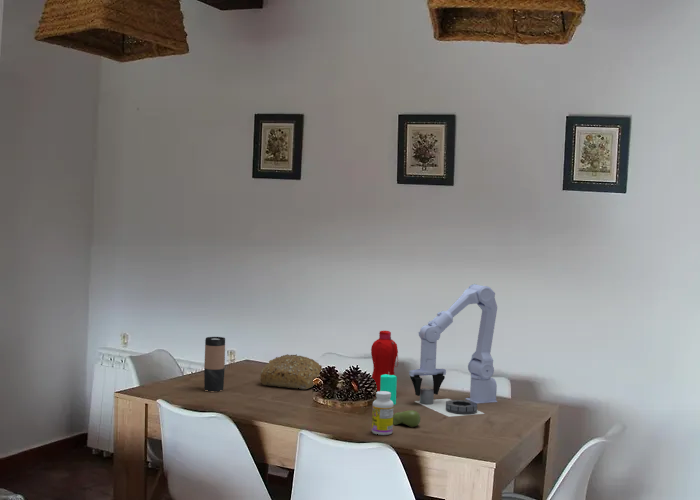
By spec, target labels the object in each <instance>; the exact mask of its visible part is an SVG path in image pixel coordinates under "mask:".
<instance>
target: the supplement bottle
mask: <svg viewBox="0 0 700 500" xmlns="http://www.w3.org/2000/svg"><path fill="white" fill-rule="evenodd" d="M375 397H376V399H375V400H374V401H373V402H372V411H371V413H372V415H371V419H372V420H371V433H372V434H374V435H377V434H378V436H389V435H391V434H392V433H393V429H394V425H393V415H394V407H395V406H394V404H393V402H392V401H391V400H390V398H391V393H390V392H387V391H378V392H376V396H375Z"/></svg>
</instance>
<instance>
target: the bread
mask: <svg viewBox="0 0 700 500" xmlns="http://www.w3.org/2000/svg"><path fill="white" fill-rule="evenodd" d="M322 367H323V366H322V365H321V364H319V362H317V361H315V360H314V359H312V358H309V357H308V356H303V355H297V354H284V355H281V356H276V357H274V358H273V359H271V360H269V361H268V362H267V363H266V364H265V365H264V366H263V368H262V370H261V372H260V376H259V381H260V383H261V384H262V385H263V386H266V385H270V386H269V387H276V386H280V387H279V388H288V387H289V389H298V388H299V389H300V390H308V389H310V388H311V389H312V388H314V387H313V380H314V379H315V378H317V377H318V376H319V373H320V371H321V370H323V368H322Z"/></svg>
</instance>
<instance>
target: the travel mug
mask: <svg viewBox="0 0 700 500" xmlns="http://www.w3.org/2000/svg"><path fill="white" fill-rule="evenodd" d="M204 341H205V342H204V343H205V345H204V365H203V367H204V372H203V374H204V377H203V379H204V386H203V387H204V389H205V390H208V391H220V390H223V391H224V388H225V387H224V386H225V385H224V384H225V383H224V382H225V371H226V370H225V365H226V362H225V361H226V338H225V337H224V336H208V337H206V338H205V340H204ZM205 390H204V391H205Z"/></svg>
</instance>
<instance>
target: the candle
mask: <svg viewBox="0 0 700 500" xmlns="http://www.w3.org/2000/svg"><path fill="white" fill-rule="evenodd" d="M397 381H398V376H396V374H395V375H387V374H384V375H381V381H380V391H387V392H390V393H391V398H390V400H391V401H392V402H393V404H394V405H397V393H396V389H397V385H398V384H397V383H398V382H397Z"/></svg>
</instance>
